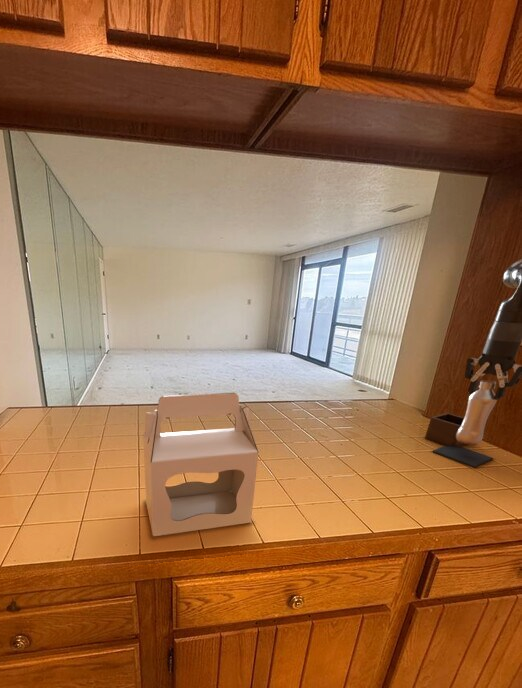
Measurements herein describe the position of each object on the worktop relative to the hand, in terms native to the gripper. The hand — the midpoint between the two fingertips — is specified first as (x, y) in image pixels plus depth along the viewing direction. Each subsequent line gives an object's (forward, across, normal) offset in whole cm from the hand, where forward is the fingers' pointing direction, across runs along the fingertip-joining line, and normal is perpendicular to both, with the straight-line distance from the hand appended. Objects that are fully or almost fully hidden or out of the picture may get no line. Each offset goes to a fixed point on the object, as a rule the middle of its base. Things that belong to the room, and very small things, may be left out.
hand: (483, 396), depth 103 cm
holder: (+20, +9, -9) cm, 24 cm away
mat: (+20, 0, 0) cm, 20 cm away
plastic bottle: (+16, 0, 0) cm, 16 cm away
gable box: (+20, +14, +91) cm, 94 cm away
